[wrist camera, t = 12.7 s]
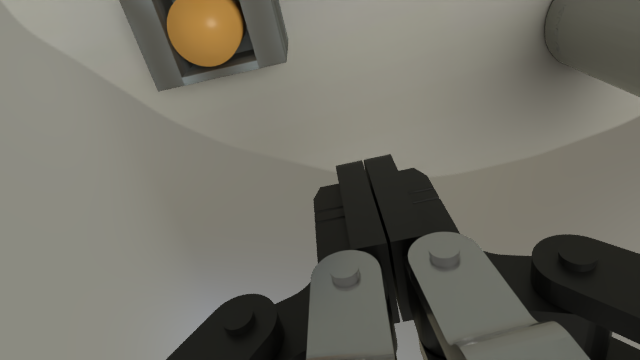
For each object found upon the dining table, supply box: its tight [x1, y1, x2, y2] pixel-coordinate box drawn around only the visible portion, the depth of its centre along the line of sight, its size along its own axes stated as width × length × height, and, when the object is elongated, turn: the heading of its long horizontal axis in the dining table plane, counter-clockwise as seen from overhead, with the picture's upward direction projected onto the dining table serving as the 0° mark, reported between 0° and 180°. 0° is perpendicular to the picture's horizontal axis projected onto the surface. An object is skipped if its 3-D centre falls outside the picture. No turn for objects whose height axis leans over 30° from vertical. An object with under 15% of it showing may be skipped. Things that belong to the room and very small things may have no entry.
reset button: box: [167, 0, 247, 67], centre depth 30 cm, size 5×5×4 cm
